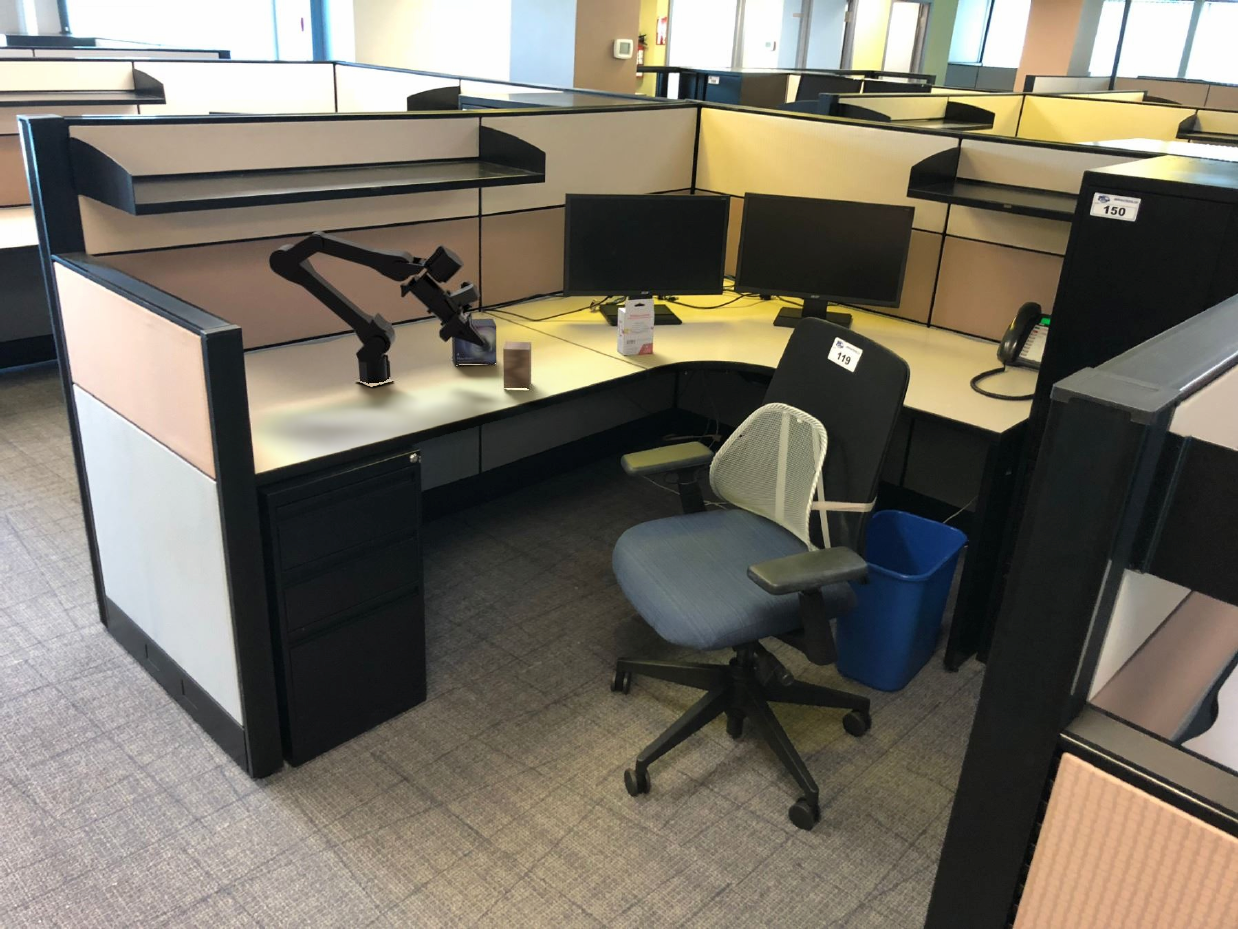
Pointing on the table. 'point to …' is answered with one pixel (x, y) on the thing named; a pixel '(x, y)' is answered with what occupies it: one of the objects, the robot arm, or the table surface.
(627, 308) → the ink cartridge box
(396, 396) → the table surface
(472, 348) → the small box
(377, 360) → the robot arm
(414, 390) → the table surface
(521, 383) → the walnut block
